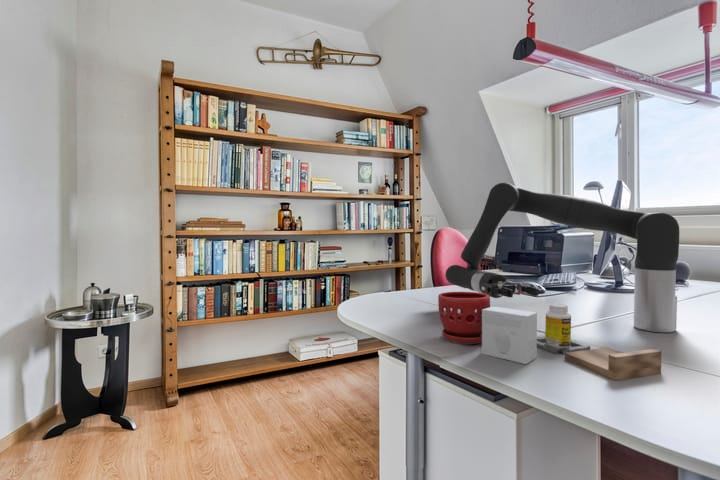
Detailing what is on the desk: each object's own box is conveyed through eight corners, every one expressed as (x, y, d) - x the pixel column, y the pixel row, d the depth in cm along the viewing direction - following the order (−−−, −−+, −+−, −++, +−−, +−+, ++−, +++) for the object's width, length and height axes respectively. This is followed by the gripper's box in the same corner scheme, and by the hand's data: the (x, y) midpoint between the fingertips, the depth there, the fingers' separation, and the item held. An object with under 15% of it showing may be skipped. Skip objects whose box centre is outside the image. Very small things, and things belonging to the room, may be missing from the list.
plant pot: (498, 338, 99) (498, 293, 98) (475, 350, 89) (475, 300, 89) (453, 329, 108) (453, 288, 107) (428, 339, 98) (428, 294, 98)
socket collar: (558, 337, 99) (558, 334, 99) (593, 350, 89) (593, 347, 89) (525, 341, 96) (525, 338, 96) (557, 355, 86) (557, 351, 86)
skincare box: (537, 357, 85) (538, 311, 84) (526, 365, 80) (527, 316, 80) (493, 347, 92) (493, 304, 92) (480, 353, 87) (480, 309, 87)
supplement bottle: (563, 351, 89) (563, 308, 88) (540, 345, 93) (541, 304, 93) (575, 346, 92) (575, 305, 91) (553, 341, 96) (553, 301, 96)
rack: (606, 353, 87) (606, 334, 86) (660, 373, 75) (661, 351, 75) (564, 359, 83) (564, 339, 83) (615, 380, 72) (615, 357, 71)
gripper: (469, 272, 116) (503, 280, 101) (507, 271, 120) (546, 278, 105) (468, 296, 116) (502, 308, 101) (507, 294, 121) (545, 305, 105)
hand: (524, 293), depth 103 cm, fingers open, 8 cm apart
